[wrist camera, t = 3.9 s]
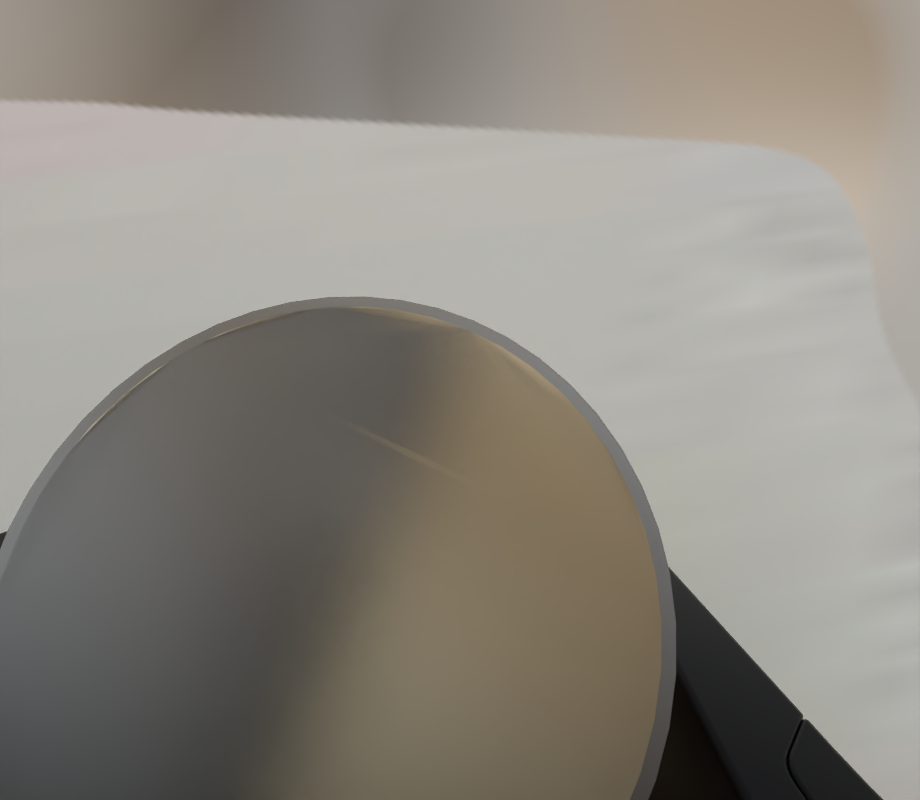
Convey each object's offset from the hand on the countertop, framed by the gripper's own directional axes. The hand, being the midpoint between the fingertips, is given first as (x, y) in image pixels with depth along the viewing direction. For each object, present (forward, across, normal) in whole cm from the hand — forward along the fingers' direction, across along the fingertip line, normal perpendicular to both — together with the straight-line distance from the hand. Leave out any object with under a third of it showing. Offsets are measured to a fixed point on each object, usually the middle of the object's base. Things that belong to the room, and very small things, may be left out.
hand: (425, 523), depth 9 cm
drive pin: (+3, 0, +5) cm, 5 cm away
